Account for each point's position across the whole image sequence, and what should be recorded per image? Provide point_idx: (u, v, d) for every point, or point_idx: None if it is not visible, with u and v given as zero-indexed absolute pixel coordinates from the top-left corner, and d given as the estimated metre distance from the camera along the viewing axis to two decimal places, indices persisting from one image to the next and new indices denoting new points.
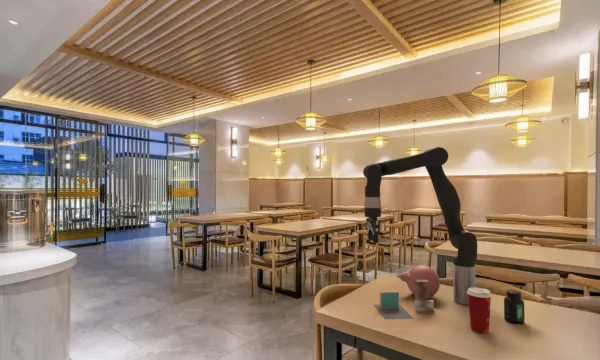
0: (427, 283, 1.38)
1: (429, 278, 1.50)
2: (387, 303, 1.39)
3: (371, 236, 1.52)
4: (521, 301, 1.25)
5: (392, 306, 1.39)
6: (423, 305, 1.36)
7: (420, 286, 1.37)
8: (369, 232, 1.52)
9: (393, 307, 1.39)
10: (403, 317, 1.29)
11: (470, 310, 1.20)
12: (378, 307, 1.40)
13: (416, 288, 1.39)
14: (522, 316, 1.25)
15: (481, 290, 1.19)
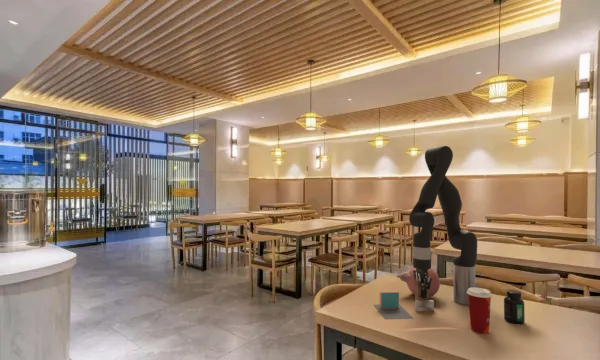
0: None
1: None
2: (387, 303, 1.39)
3: None
4: (521, 301, 1.25)
5: (392, 306, 1.39)
6: (423, 305, 1.36)
7: (420, 286, 1.37)
8: None
9: (393, 307, 1.39)
10: (403, 317, 1.29)
11: (470, 310, 1.20)
12: (378, 307, 1.40)
13: (416, 288, 1.39)
14: (522, 316, 1.25)
15: (481, 290, 1.19)
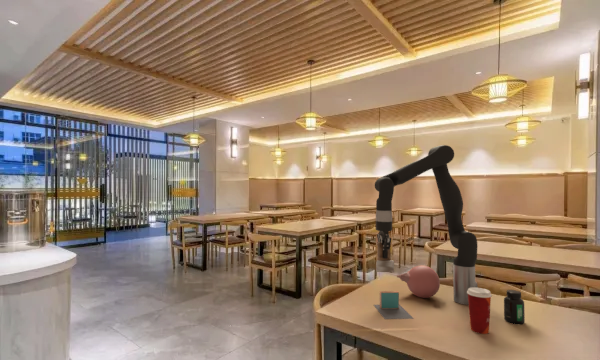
0: None
1: (429, 278, 1.50)
2: (387, 303, 1.39)
3: None
4: (521, 301, 1.25)
5: (392, 306, 1.39)
6: (384, 264, 1.45)
7: (381, 247, 1.46)
8: None
9: (393, 307, 1.39)
10: (403, 317, 1.29)
11: (470, 310, 1.20)
12: (378, 307, 1.40)
13: (378, 249, 1.48)
14: (522, 316, 1.25)
15: (481, 290, 1.19)
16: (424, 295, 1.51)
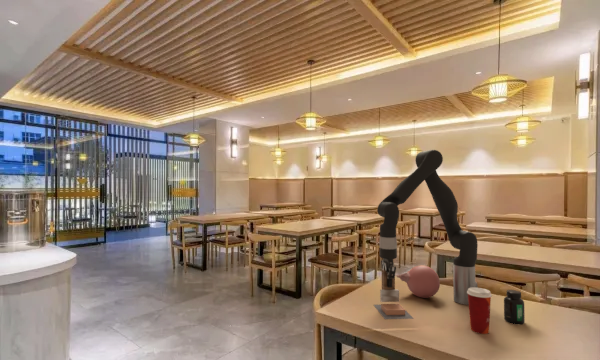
0: None
1: (429, 278, 1.50)
2: None
3: None
4: (521, 301, 1.25)
5: None
6: (388, 294, 1.39)
7: (386, 276, 1.40)
8: None
9: None
10: (403, 317, 1.29)
11: (470, 310, 1.20)
12: (378, 307, 1.40)
13: (382, 277, 1.41)
14: (522, 316, 1.25)
15: (481, 290, 1.19)
16: (424, 295, 1.51)
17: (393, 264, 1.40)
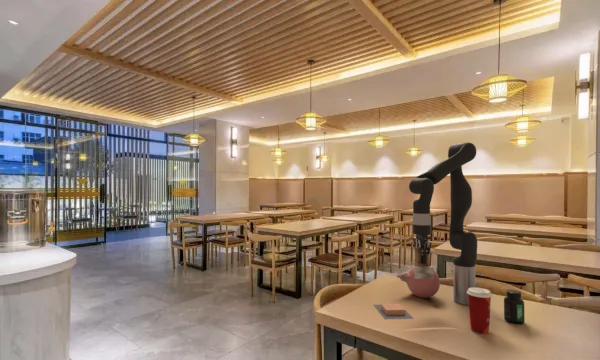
0: None
1: None
2: None
3: None
4: (521, 301, 1.25)
5: None
6: (423, 271, 1.37)
7: (420, 252, 1.38)
8: None
9: None
10: (403, 317, 1.29)
11: (470, 310, 1.20)
12: (378, 307, 1.40)
13: (416, 254, 1.39)
14: (522, 316, 1.25)
15: (481, 290, 1.19)
16: (424, 295, 1.51)
17: None
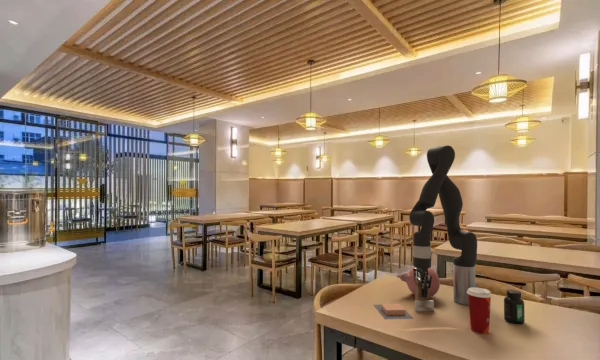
0: None
1: None
2: None
3: None
4: (521, 301, 1.25)
5: None
6: (423, 305, 1.36)
7: (420, 286, 1.37)
8: None
9: None
10: (403, 317, 1.29)
11: (470, 310, 1.20)
12: (378, 307, 1.40)
13: (416, 288, 1.39)
14: (522, 316, 1.25)
15: (481, 290, 1.19)
16: None
17: None
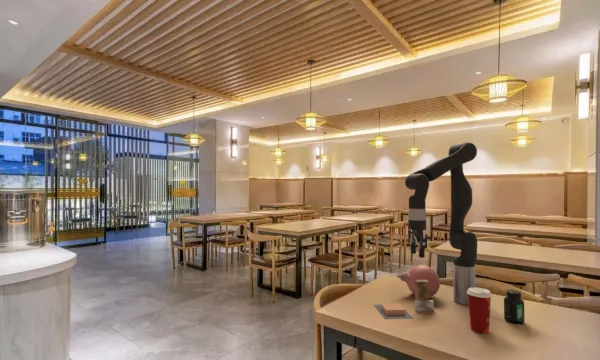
0: (427, 283, 1.38)
1: (429, 278, 1.50)
2: None
3: (414, 249, 1.45)
4: (521, 301, 1.25)
5: None
6: (423, 305, 1.36)
7: (420, 286, 1.37)
8: (412, 245, 1.45)
9: None
10: (403, 317, 1.29)
11: (470, 310, 1.20)
12: (378, 307, 1.40)
13: (416, 288, 1.39)
14: (522, 316, 1.25)
15: (481, 290, 1.19)
16: None
17: None
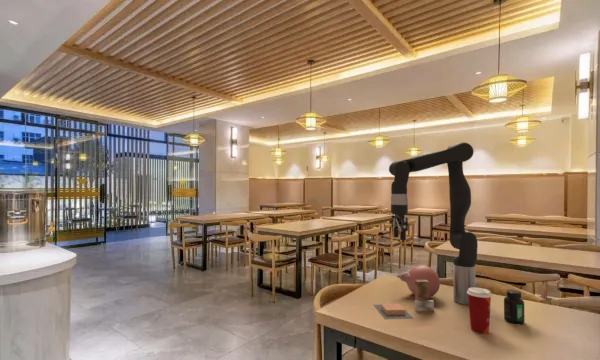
0: (427, 283, 1.38)
1: (429, 278, 1.50)
2: None
3: (397, 233, 1.51)
4: (521, 301, 1.25)
5: None
6: (423, 305, 1.36)
7: (420, 286, 1.37)
8: (395, 229, 1.51)
9: None
10: (403, 317, 1.29)
11: (470, 310, 1.20)
12: (378, 307, 1.40)
13: (416, 288, 1.39)
14: (522, 316, 1.25)
15: (481, 290, 1.19)
16: None
17: None
